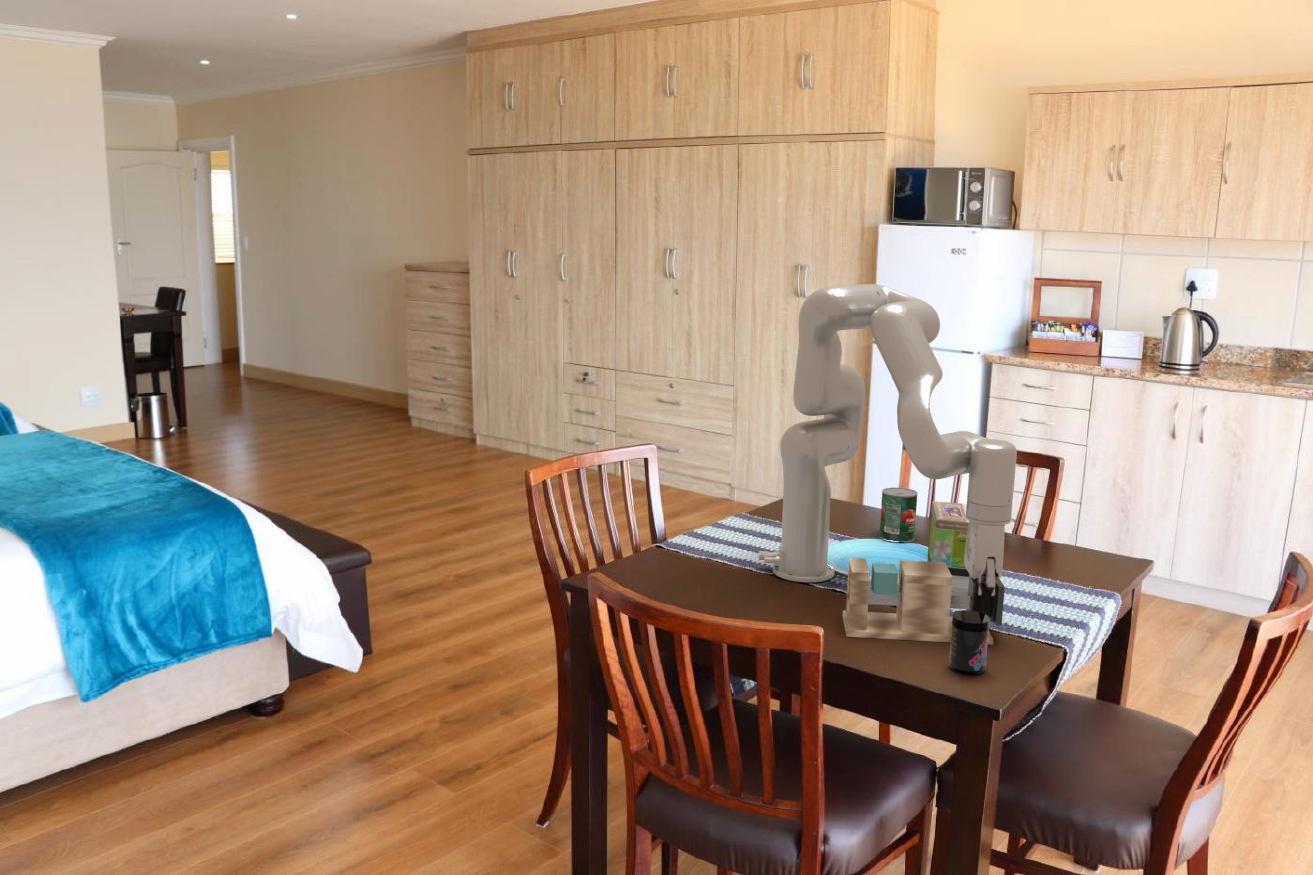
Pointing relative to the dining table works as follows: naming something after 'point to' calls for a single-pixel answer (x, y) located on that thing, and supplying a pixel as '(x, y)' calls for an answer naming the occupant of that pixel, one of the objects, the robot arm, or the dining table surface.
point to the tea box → (949, 540)
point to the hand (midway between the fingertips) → (980, 610)
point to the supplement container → (969, 642)
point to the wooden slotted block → (903, 604)
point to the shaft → (952, 599)
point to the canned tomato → (898, 514)
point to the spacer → (884, 579)
